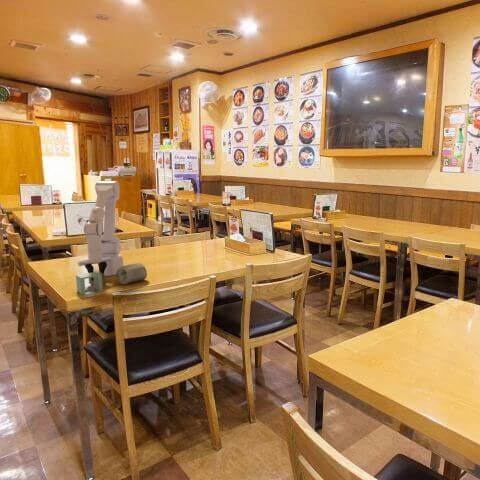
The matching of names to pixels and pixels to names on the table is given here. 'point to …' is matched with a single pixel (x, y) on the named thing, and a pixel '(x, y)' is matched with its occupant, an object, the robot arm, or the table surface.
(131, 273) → the spool
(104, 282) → the tall brown box
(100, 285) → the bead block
